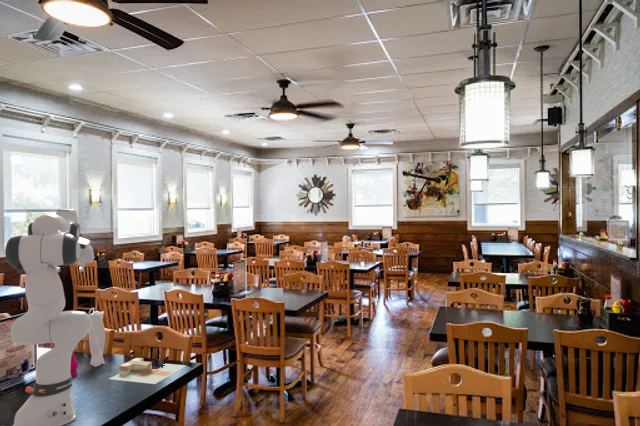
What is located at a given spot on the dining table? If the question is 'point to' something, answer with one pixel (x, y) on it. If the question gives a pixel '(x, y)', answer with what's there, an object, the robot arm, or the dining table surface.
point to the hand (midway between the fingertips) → (69, 271)
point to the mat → (150, 374)
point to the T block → (135, 366)
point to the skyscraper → (96, 338)
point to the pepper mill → (73, 365)
